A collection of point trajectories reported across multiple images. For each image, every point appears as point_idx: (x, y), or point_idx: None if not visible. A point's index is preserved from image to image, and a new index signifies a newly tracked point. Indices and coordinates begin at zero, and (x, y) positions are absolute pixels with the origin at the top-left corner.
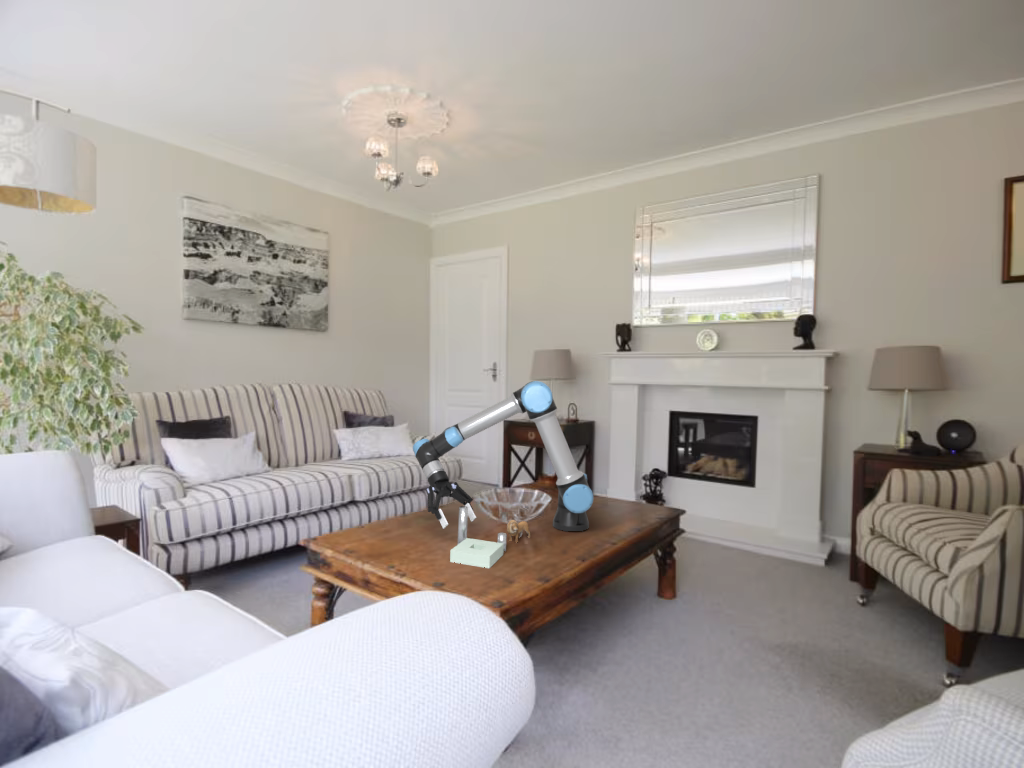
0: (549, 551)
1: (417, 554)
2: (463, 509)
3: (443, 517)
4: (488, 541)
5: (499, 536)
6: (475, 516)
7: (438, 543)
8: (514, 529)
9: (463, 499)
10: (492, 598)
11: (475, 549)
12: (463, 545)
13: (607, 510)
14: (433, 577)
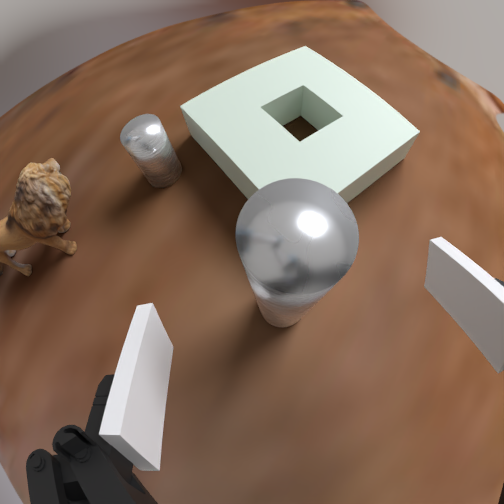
0: (65, 126)
1: None
2: (323, 189)
3: (477, 266)
4: (219, 141)
5: (162, 126)
6: (137, 312)
7: (374, 380)
8: (58, 166)
9: (134, 500)
10: (359, 11)
11: (325, 94)
12: (355, 144)
13: None
14: (457, 105)
